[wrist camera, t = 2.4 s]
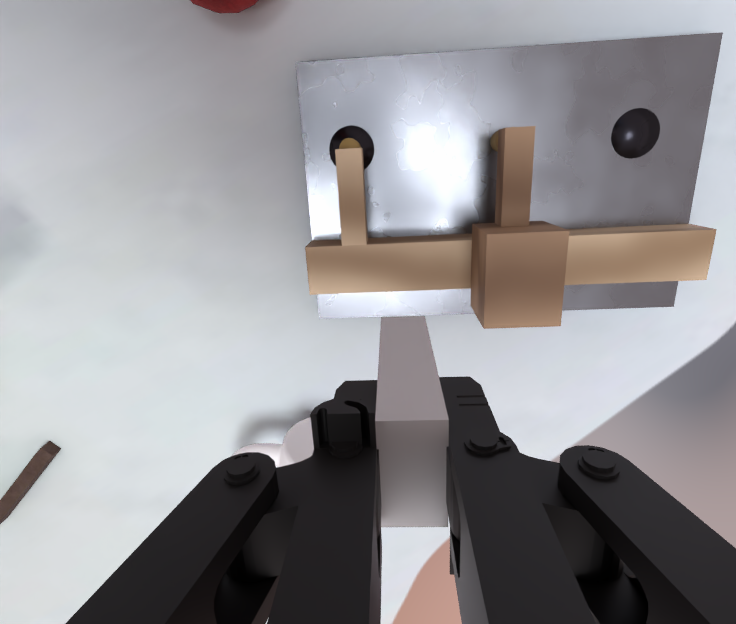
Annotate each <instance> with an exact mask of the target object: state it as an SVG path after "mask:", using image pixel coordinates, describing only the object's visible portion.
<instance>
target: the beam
mask: <svg viewBox="0 0 736 624" xmlns="http://www.w3.org/2000/svg"><path fill="white" fill-rule="evenodd" d="M335 156H336V170H337V184H338V198H339V212H340V226H341V239H336V240H314V241H311V242H310V243H309V244H308V245H307V246H306V247H305V250H306V260H307V271H308V281H309V291H310V295H313V294H339V293H366V292H393V291H420V290H446V289H471V262H472V233H471V234H448V235H426V236H403V237H381V238H368V237H367V218H366V199H365V179H364V160H363V148H361V146H360V144H359V143H358V142H357V141H356V140H355V139H352V138H346V139H344V140H343V141H342V142H341V143H340V146H339V149H335ZM566 230H569V242H568V252H567V263H566V274H565V284H564V285H580V284H607V283H634V282H661V281H688V280H706V279H707V274H708V269H709V264H710V259H711V254H712V249H713V244H714V239H715V234H716V229H712V228H707V227H702V226H697V225H692V224H672V225H649V226H627V227H605V228H582V229H566Z"/></svg>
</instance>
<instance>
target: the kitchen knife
mask: <svg viewBox="0 0 736 624" xmlns="http://www.w3.org/2000/svg"><path fill="white" fill-rule="evenodd" d="M60 449H61V448H60V447H58V446H57V445H55V444H54V443H52V442H51V441H49V442H48V443H46V444H45V445H44V446H43V447H41V448H40V450H39V451H38V452H37V453H36V454H35V455H34V457H33V458H32V459H31V461H30V462H29V463H28V465H27V466H26V467H25V469H24V470H23V471H22V473H21V474H20V475H19V477H18V478H17V479H16V481H15V482H14V483H13V485H12V486H11V487H10V488H9V490H8V491H7V492H6V494H5V495H4V496H3V497H2V499H1V500H0V524H1V523H2V522H3V521H4V520H5V519H6V518H7V517H8V516H9V515H10V514H11V512H12V511H13V510H14V508H15V507H16V506H17V505H18V503H19V502H20V501H21V499H22V498H23V497H24V496H25V494H26V493H27V492H28V490H29V489H30V488H31V487H32V485H33V484H34V483H35V481H36V480H37V479H38V478H39V476H40V475H41V474H42V472H43V471H44V470H45V469H46V467H47V466H48V465H49V463H50V462H51V461H52V460H53V458H54V457H55V456H56V454H57V453H58V452H59V451H60Z"/></svg>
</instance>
